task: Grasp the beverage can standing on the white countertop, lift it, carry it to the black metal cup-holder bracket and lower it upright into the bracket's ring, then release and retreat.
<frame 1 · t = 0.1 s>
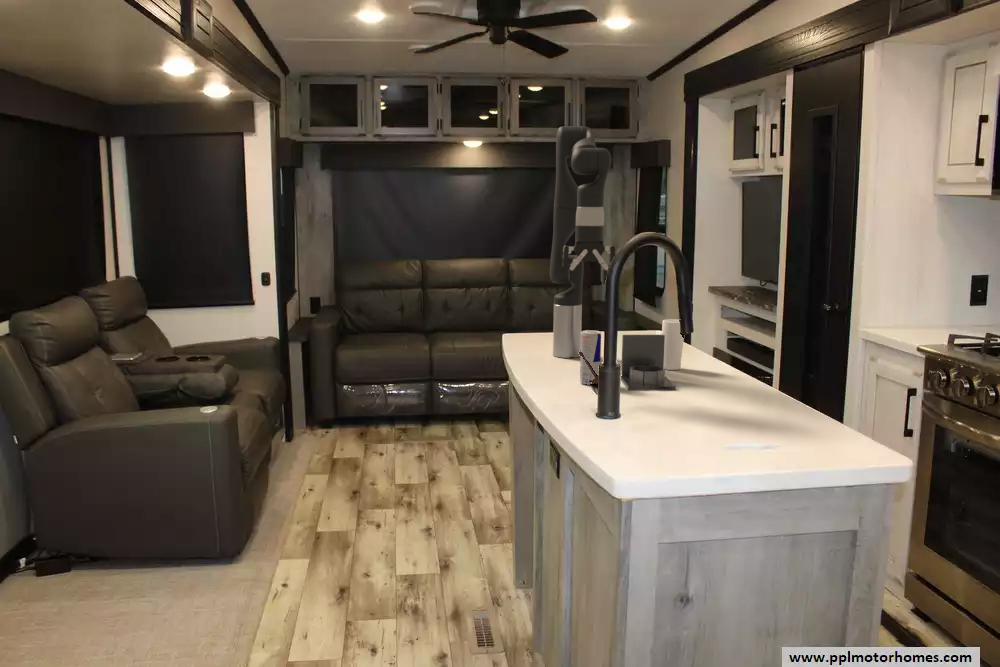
hand: (588, 284, 223), 29 cm above the worktop, fingers open, 8 cm apart
white tapered cylinder: (671, 369, 253), on the worktop
cup bracket: (646, 384, 232), on the worktop
beverage can: (589, 384, 233), on the worktop
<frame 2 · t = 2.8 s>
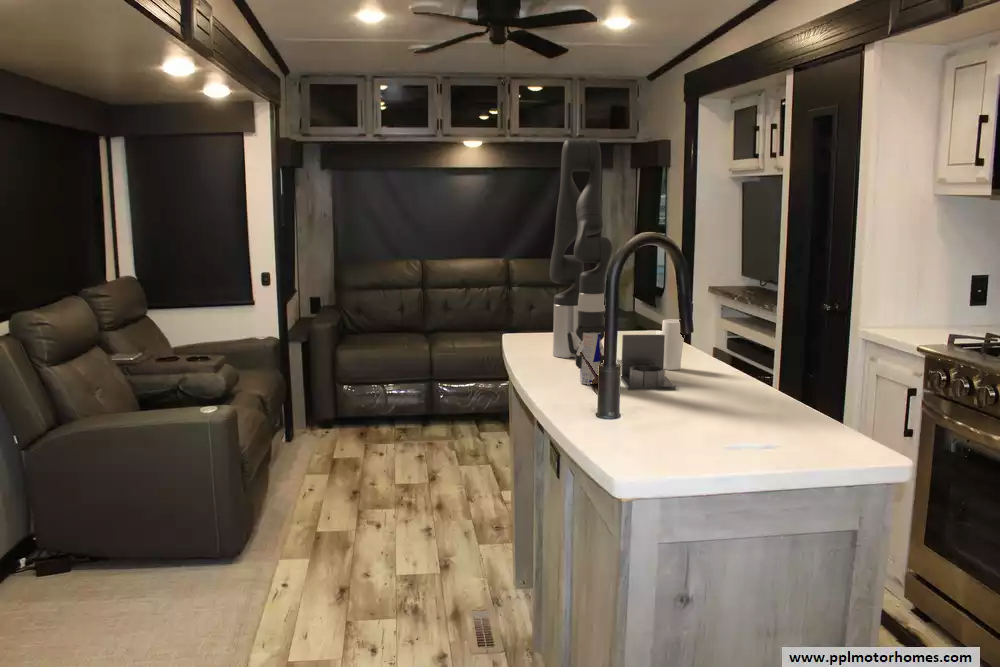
hand: (590, 367, 232), 5 cm above the worktop, fingers closed on beverage can, 5 cm apart
beverage can: (589, 384, 233), on the worktop, touching gripper
everything else where it was.
when the fingers open (7 cm above the worktop, at t = 7.6 s): beverage can drops 1 cm, resting on cup bracket.
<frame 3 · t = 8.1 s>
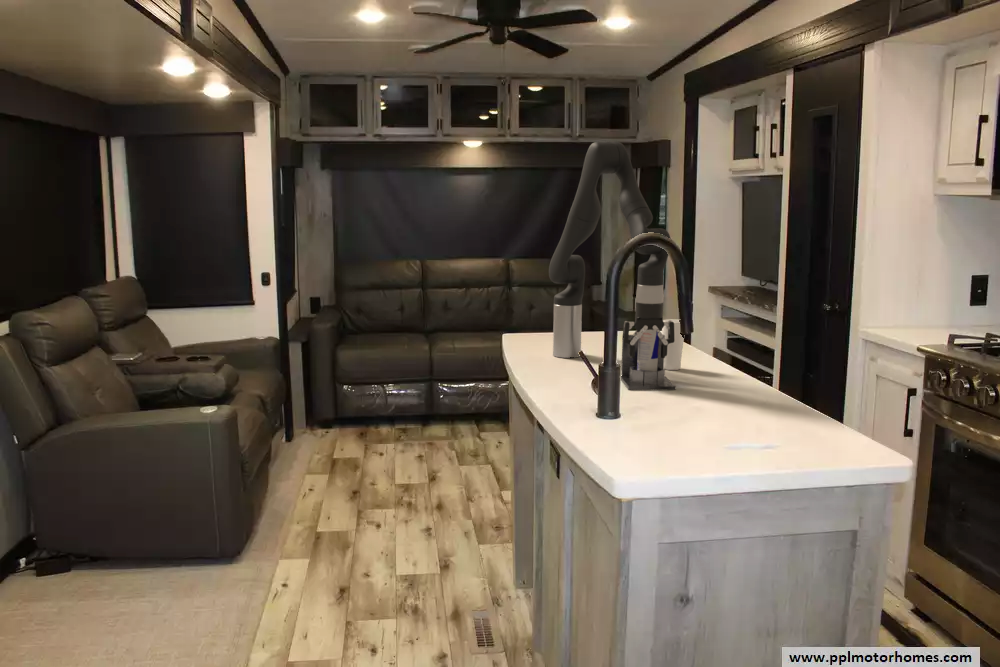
hand: (647, 357, 231), 8 cm above the worktop, fingers open, 8 cm apart
beverage can: (646, 381, 232), point 1 cm above the worktop, touching cup bracket
everything else where it was.
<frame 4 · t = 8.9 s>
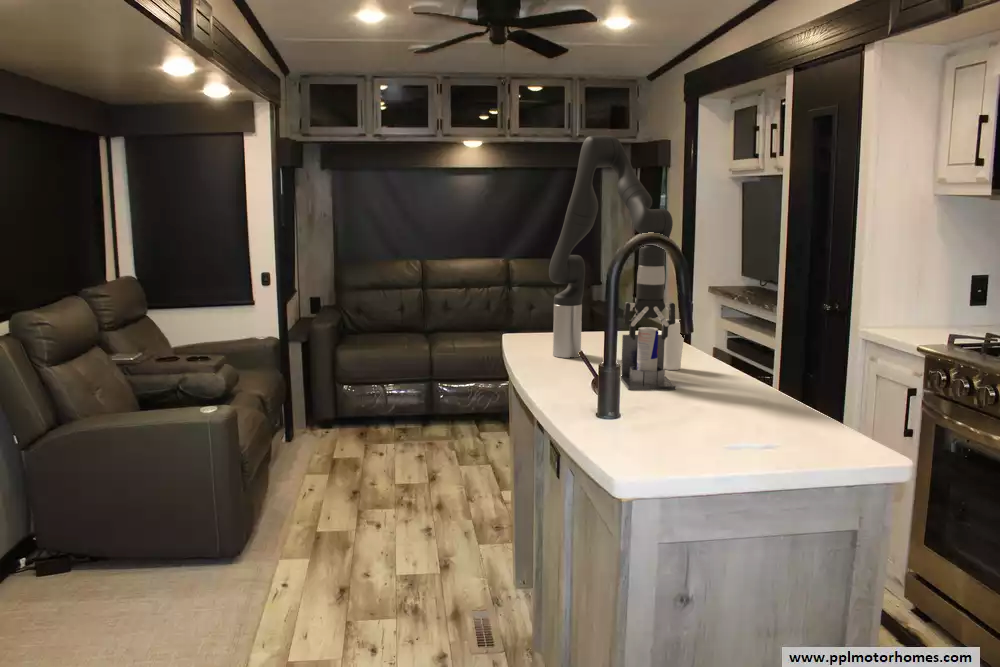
hand: (648, 339, 230), 13 cm above the worktop, fingers open, 8 cm apart
nothing on the worktop moved.
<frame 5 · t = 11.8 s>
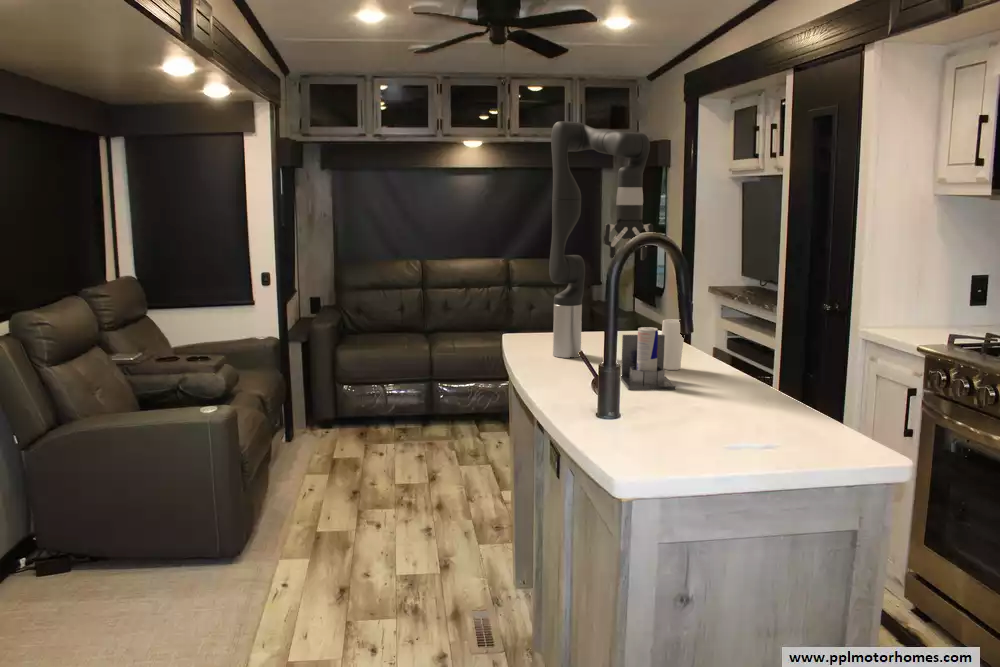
hand: (627, 259, 239), 34 cm above the worktop, fingers open, 8 cm apart
nothing on the worktop moved.
at the end: beverage can 0.1 cm off-centre on the cup bracket, point 0.8 cm above the cup bracket's base; beverage can tilted 0°; the gripper is holding nothing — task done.
